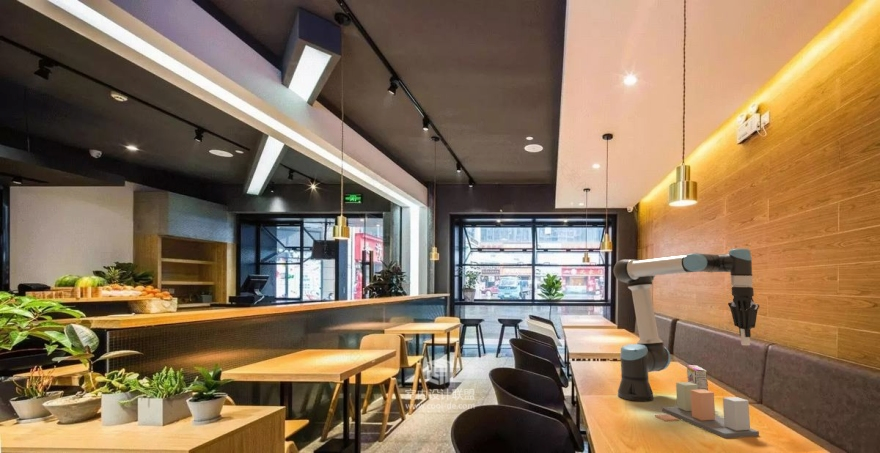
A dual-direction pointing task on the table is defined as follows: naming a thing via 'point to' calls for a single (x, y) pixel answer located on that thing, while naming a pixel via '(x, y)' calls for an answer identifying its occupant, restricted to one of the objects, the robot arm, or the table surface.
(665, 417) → the terracotta tile
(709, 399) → the terracotta key
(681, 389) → the sage green block
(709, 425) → the charcoal key base
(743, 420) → the light grey block
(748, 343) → the robot arm
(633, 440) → the table surface
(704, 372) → the candy bar box
